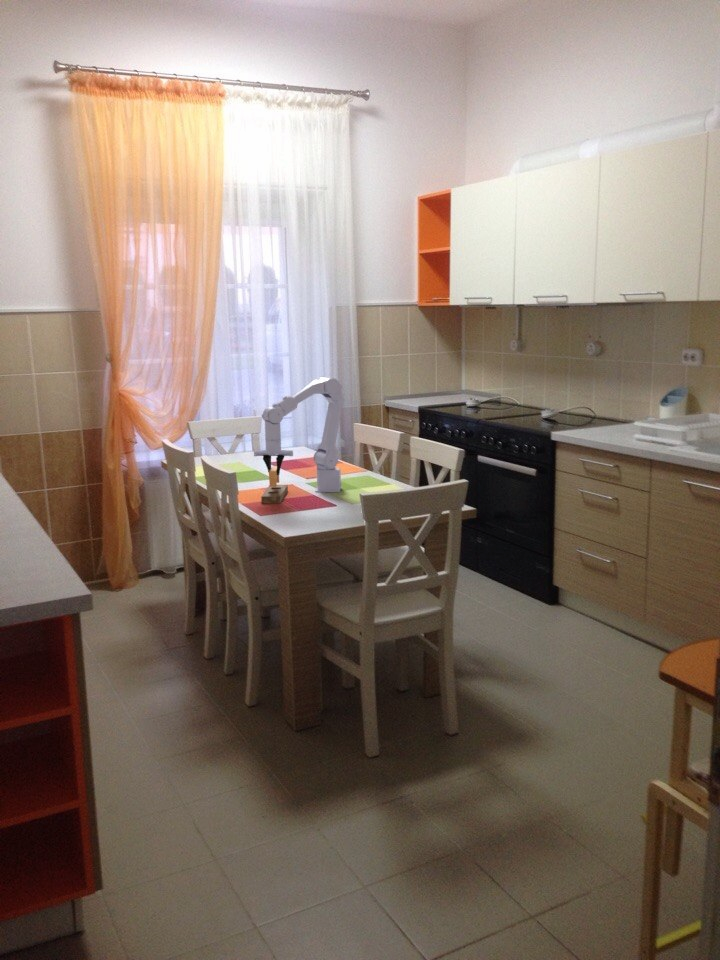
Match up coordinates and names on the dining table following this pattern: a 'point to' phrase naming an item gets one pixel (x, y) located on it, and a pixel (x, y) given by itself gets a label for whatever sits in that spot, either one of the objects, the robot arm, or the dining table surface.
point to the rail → (274, 494)
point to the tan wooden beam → (273, 477)
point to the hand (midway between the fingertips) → (274, 474)
